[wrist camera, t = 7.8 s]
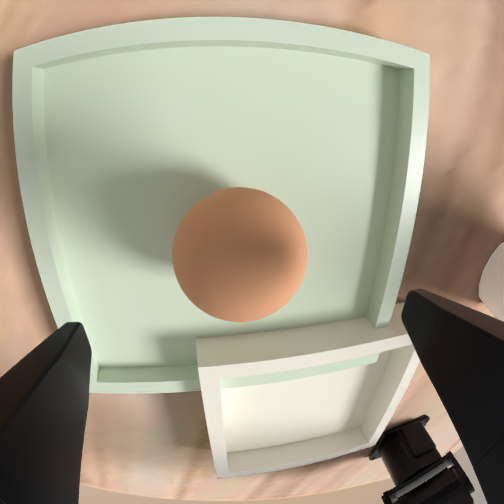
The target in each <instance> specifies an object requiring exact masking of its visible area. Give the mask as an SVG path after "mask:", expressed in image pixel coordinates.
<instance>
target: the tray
mask: <svg viewBox="0 0 504 504" xmlns="http://www.w3.org/2000/svg"><path fill="white" fill-rule="evenodd" d="M429 90H430V54H427V53H424V52H422V51H419V50H416V49H413V48H410V47H407V46H404V45H400V44H397V43H394V42H390V41H387V40H383V39H379V38H376V37H372V36H368V35H364V34H360V33H355V32H351V31H346V30H341V29H336V28H331V27H326V26H320V25H314V24H307V23H300V22H292V21H284V20H274V19H262V18H247V17H182V18H166V19H154V20H145V21H136V22H129V23H122V24H115V25H109V26H104V27H98V28H93V29H88V30H84V31H79V32H75V33H71V34H67V35H63V36H59V37H55V38H52V39H48V40H45V41H41V42H38V43H35V44H32V45H29V46H26V47H23V48H20V49H17V50H14V55H13V76H12V107H13V129H14V143H15V153H16V162H17V170H18V178H19V185H20V191H21V197H22V203H23V208H24V213H25V218H26V223H27V228H28V232H29V236H30V241H31V245H32V249H33V253H34V256H35V260H36V264H37V267H38V271H39V274H40V278H41V281H42V284H43V287H44V290H45V293H46V297H47V300H48V302H49V305H50V308H51V311H52V314H53V317H54V319H55V322H56V325H57V327H58V329H59V328H60V327H61V326H62V325H64V324H65V323H66V322H81V323H82V324H83V326H84V329H85V332H86V334H87V337H88V340H89V343H90V346H91V350H92V358H91V370H90V385H89V393H103V394H146V393H174V392H191V391H201V386H200V379H199V372H198V364H197V351H196V338H208V337H220V336H231V335H241V334H251V333H260V332H269V331H277V330H285V329H293V328H300V327H308V326H315V325H321V324H328V323H334V322H341V321H347V320H353V319H359V318H365V317H366V318H367V320H368V321H369V322H370V324H371V325H372V326H373V328H374V329H378V328H383V327H388V326H389V323H390V320H391V317H392V313H393V310H394V307H395V303H396V299H397V296H398V292H399V289H400V285H401V281H402V277H403V273H404V269H405V265H406V261H407V256H408V252H409V247H410V243H411V238H412V233H413V228H414V223H415V218H416V212H417V207H418V201H419V194H420V188H421V181H422V174H423V166H424V158H425V149H426V139H427V127H428V112H429ZM232 187H247V188H253V189H257V190H261V191H264V192H266V193H268V194H270V195H272V196H274V197H275V198H277V199H279V200H280V201H281V202H283V203H284V204H285V205H286V206H287V207H288V208H289V209H290V210H291V211H292V213H293V214H294V215H295V217H296V218H297V220H298V222H299V223H300V225H301V228H302V230H303V233H304V236H305V240H306V245H307V264H306V270H305V273H304V277H303V280H302V282H301V284H300V286H299V288H298V289H297V291H296V293H295V294H294V295H293V297H292V298H291V299H290V300H289V301H288V302H287V303H286V304H285V305H284V306H283V307H282V308H281V309H279V310H278V311H276V312H275V313H273V314H271V315H269V316H267V317H264V318H262V319H259V320H255V321H250V322H230V321H225V320H221V319H218V318H215V317H212V316H210V315H208V314H206V313H205V312H203V311H202V310H200V309H199V308H198V307H196V306H195V305H194V304H193V303H192V302H191V301H190V300H189V299H188V298H187V296H186V295H185V294H184V292H183V291H182V289H181V287H180V285H179V283H178V281H177V279H176V276H175V273H174V268H173V262H172V247H173V241H174V237H175V234H176V231H177V228H178V226H179V224H180V222H181V220H182V219H183V217H184V216H185V214H186V213H187V212H188V211H189V209H190V208H191V207H192V206H193V205H194V204H195V203H197V202H198V201H199V200H201V199H202V198H203V197H205V196H207V195H209V194H211V193H213V192H216V191H218V190H222V189H226V188H232ZM379 354H380V353H376V354H371V355H367V356H363V357H358V358H354V359H349V360H344V361H339V362H334V363H329V364H324V365H319V366H313V367H307V368H301V369H295V370H289V371H283V372H276V373H269V374H261V375H253V376H245V377H236V378H227V379H220V389H226V388H236V387H245V386H253V385H260V384H268V383H275V382H281V381H288V380H294V379H300V378H305V377H311V376H316V375H321V374H326V373H331V372H336V371H341V370H346V369H350V368H354V367H359V366H363V365H367V364H371V363H375V362H377V359H378V357H379Z"/></svg>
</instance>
